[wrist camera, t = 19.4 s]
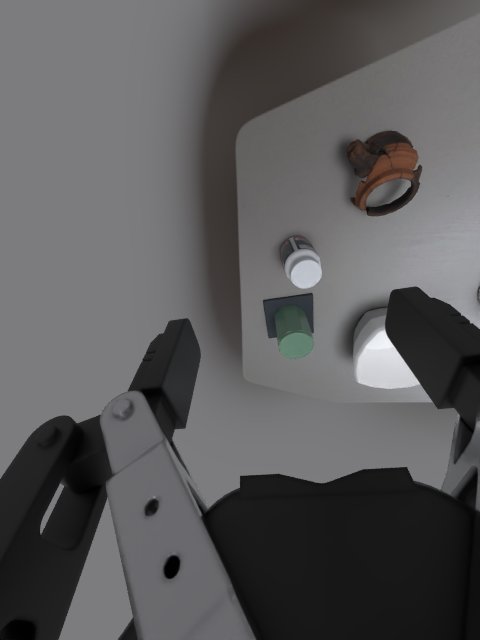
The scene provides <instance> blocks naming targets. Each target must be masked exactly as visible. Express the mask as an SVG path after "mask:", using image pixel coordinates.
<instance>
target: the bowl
mask: <svg viewBox="0 0 480 640" xmlns="http://www.w3.org/2000/svg"><path fill="white" fill-rule="evenodd" d="M387 309H388V308H380V309H375V310H371V311H368V312H366V313H365V314H364V315H363V317H362V318H361V319H360V321H359V323H358V325H357V327H356V329H355V332H354V339H353V372H354V376H355V380H356V381H357V382H358V383H361V384H364V385H368V386H371V387H377V388H387V389H391V388H405V387H410V386H415V385H421V384H420V383H419V381H418V380H417V378H416V377H415V376H414V374H413V373H412V371H411V370H410V368H409V367H408V366H407V364H406V363H405V361H404V360H403V358H402V357H401V356H400V354H399V353H398V351H397V350H396V348H395V347H394V346H393V344H392V343H391V341H390V340H389V338H388V337H387V334H386V331H385V320H386V314H387Z"/></svg>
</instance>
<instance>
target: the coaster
mask: <svg viewBox="0 0 480 640" xmlns="http://www.w3.org/2000/svg"><path fill="white" fill-rule="evenodd" d="M263 303H264V310H265V316H266V323H267V329H268V335H269V338H275V337H277V332H276V325H275V318H274V315H275V314H276V313H277V312H278V311H279V310H280V309H281V307H283V306H290V305H296V306H298V307H299V308H301V309H302V310H304V311H305V314H306V317H307V320H308V323H309V326H310V329H311V332H312V333H314V329H313V294H312V293H310V294H303V295H296V296H289V297H282V298H275V299H269V300H263Z"/></svg>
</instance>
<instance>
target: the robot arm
mask: <svg viewBox="0 0 480 640" xmlns="http://www.w3.org/2000/svg"><path fill="white" fill-rule="evenodd" d="M385 331H386V334H387V337H388V338H389V340H390V341H391V343H392V344H393V346H394V347H395V348H396V350H397V351H398V353H399V354H400V356H401V357H402V358H403V360H404V361H405V363H406V364H407V366H408V367H409V368H410V370H411V371H412V373H413V374H414V376H415V377H416V378H417V380H418V381H419V383H420V384H421V386H422V387H423V388H424V390H425V391H426V393H427V394H428V396H429V397H430V398H431V400H432V401H433V403H434V404H435V406H436V407H437V408H438V409H445V408H455V409H456V410H457V412H458V413H459V414H458V416H457V418H456V422H455V428H454V434H453V440H452V446H451V453H450V459H449V464H448V470H447V473H446V477H445V479H444V482H443V484H442V487H441V490H439V489H437V488H434V487H432V486H429V485H426V484H423V483H420V482H417V481H413V479H412V477H411V475H410V473H409V471H408V469H407V467H400V468H381V469H363V470H361V471H358V472H355V473H352V474H350V475H347V476H344V477H341V478H339V479H335V480H333V481H330V482H327V483H315V482H311V481H307V480H303V479H298V478H294V477H290V476H285V475H281V474H270V475H250V476H240V488H238V489H236V490H234V491H232V492H230V493H228V494H226V495H224V496H223V497H222V498H220V499H219V500H218V501H216V502H215V503H214V504H213V505H212V506H211V507H210V508H209V506H208V505H207V503H206V501H205V499H204V497H203V496H202V494H201V492H200V490H199V489H198V487H197V485H196V483H195V482H194V480H193V478H192V476H191V474H190V472H189V470H188V468H187V466H186V464H185V462H184V460H183V458H182V456H181V454H180V453H179V450H178V449H177V447H176V445H175V443H174V441H173V439H172V437H173V433H174V429H183V428H186V423H187V418H188V414H189V409H190V404H191V399H192V395H193V391H194V386H195V381H196V377H197V372H198V368H199V363H200V358H201V353H200V347H199V344H198V341H197V338H196V336H195V333H194V330H193V328H192V325H191V323H190V321H189V319H187V318H186V319H179V320H172V321H169V322H168V325H167V327H166V329H165V332H164V333H163V334H159V335H158V336H157V337H156V338H155V339H154V340H153V341H152V342H151V343H150V345H149V347H148V350H147V352H146V354H145V356H144V358H143V362H141V364H140V366H139V369H138V371H137V373H136V375H135V377H134V379H133V381H132V383H131V385H130V387H129V390H128V392H125V393H122V394H120V395H118V396H117V397H115V398H114V399H113V400H111V402H109V403H108V405H107V406H106V407H105V408H104V410H103V411H102V414H101V415H99V416H96V417H94V418H91V419H88V420H85V421H83V422H80V423H76V422H75V421H74V420H73V419H72V418H71V417H69V416H58V417H55V418H53V419H51V420H49V421H47V422H45V423H44V424H43V425H41V426H40V427H39V428H37V429H36V430H35V431H34V432H33V433H32V434H31V436H30V437H29V438H28V439H27V441H26V442H25V444H24V445H23V447H22V448H21V450H20V451H19V452H18V454H17V455H16V457H15V458H14V460H13V461H12V463H11V464H10V466H9V467H8V469H7V470H6V472H5V473H4V474H3V476H2V478H1V479H0V640H58V639H59V636H60V633H61V631H62V628H63V625H64V621H65V619H66V616H67V613H68V610H69V607H70V605H71V601H72V598H73V596H74V593H75V590H76V587H77V584H78V581H79V578H80V576H81V573H82V570H83V567H84V564H85V561H86V558H87V555H88V552H89V550H90V547H91V544H92V541H93V538H94V535H95V532H96V529H97V526H98V523H99V521H100V518H101V514H102V512H103V509H104V506H105V503H106V500H107V497H108V500H109V505H110V510H111V514H112V519H113V524H114V529H115V533H116V538H117V543H118V547H119V552H120V557H121V562H122V566H123V571H124V576H125V580H126V585H127V590H128V595H129V599H130V604H131V609H132V614H133V618H132V620H131V621H130V623H129V624H128V626H127V627H126V629H125V630H124V632H123V633H122V635H121V636H120V637H119V639H118V640H480V329H479V328H477V327H476V326H475V325H474V324H473V323H471V324H470V321H469V320H468V319H467V318H465V317H464V316H461V313H459V312H458V311H457V310H456V309H454V308H453V307H452V306H451V305H450V304H447V303H445V302H443V301H441V300H438V299H436V298H430V297H429V296H428V295H427V294H425V293H424V292H423V291H422V290H421V289H420V288H418V287H409V288H402V289H395V290H393V291H392V292H391V294H390V298H389V304H388V309H387V314H386V320H385ZM60 483H61V484H62V485H64V488H63V490H62V493H61V495H60V497H59V499H58V501H57V503H56V505H55V507H54V509H53V511H52V513H51V515H50V518H49V520H48V522H47V524H46V526H45V528H44V530H43V532H42V534H41V535H40V525H41V521H42V518H43V516H44V514H45V512H46V510H47V508H48V506H49V504H50V502H51V500H52V498H53V496H54V494H55V492H56V490H57V488H58V486H59V484H60Z"/></svg>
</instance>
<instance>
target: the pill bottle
mask: <svg viewBox="0 0 480 640" xmlns="http://www.w3.org/2000/svg"><path fill="white" fill-rule="evenodd" d="M280 257H281V260H282V264H283V267H284V270H285V273H286V275H287V277H288V278H289V279H290V280H291V281H292V283H293V284H294V285H295V286H297V287H299V288H310V287H312V286H314V285H315V284H317V283H318V281H319V280H320V278H321V276H322V269H321V262H320V258H319V256H318V255H317V253H316V251H315V250H314V248H313V247H312V245H311V243H310V242H309V241H308V240H307V239H306V238H304V237H301V236H295V237H291V238H289V239H288V240H286V241H285V242H284V244H283V245H282V247H281V250H280Z"/></svg>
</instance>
